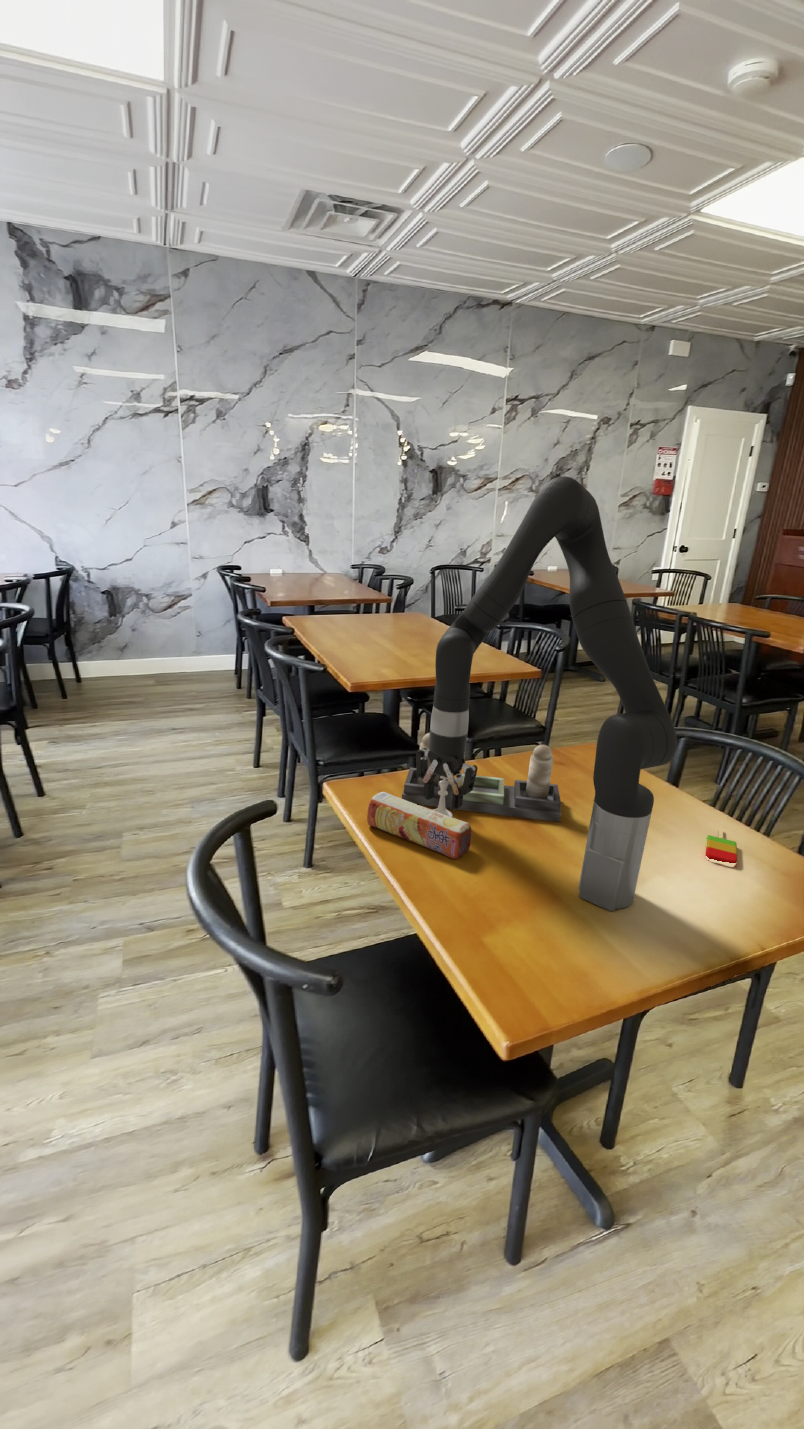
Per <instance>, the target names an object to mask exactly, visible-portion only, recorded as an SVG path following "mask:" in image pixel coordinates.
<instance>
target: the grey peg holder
mask: <svg viewBox="0 0 804 1429" xmlns="http://www.w3.org/2000/svg"><path fill="white" fill-rule="evenodd" d="M429 737H430V732H427V733H425V734H424V736H423V737H422V740H421V742H420V743H419V750H420V749H423V748H426V749H427V750H430V749H429ZM532 752H533V753H532V754H530V757H529V758H530V760H529V766H528V774H527V780H521V779H514V783H513V784H514V785H505V778H504V777H503V778H502V777H495V776H486V775H485V776H484V775H477V774H476V778H475V782H474V787H473V790H472V791H471V792H469V793H467V794H466V795H463V803H462V806H461V807H460V808H459V809H457V810H459V811H465V812H475V813H483V814H493V815H499V816H508V817H516V818H522V819H532V820H533V819H534V820H540V821H548V822H555V823H556V822H557V823H561V817H562V809H561V807H562V802H561V795H560V790H559V786H558V784H556V783H551V777H552V771H553V770H552V769H553V765H554V757H553V751H552V749H551V748H550V746H548V745H547V744H539V745H537V746H536V747H534V749H533V751H532ZM430 766H431V763H430V761H429V758H428V769H429V767H430ZM462 775H463V773H462ZM440 776H443V775H438V774H437V775H436V777H435V778H434V780H433V781H435V785H434V796H433V798H431V799H429V800H427V799H425V796H424V781H423V779H422V778H421V777H420V778H418V777H417V775H416V767H409V770H408V772H407V775H406V779H405V781H404V785H403V791H402V794H401V799H404V800H406V801H409V802H412V803H414V804H421V805H420V806H425V805H426V806H425V807H433V806H434V807H435V808H438V805H439V800H440V795H439V794H438V791H440V790H441V789H440V785H439V781H441V780H443V779H442V778H440ZM464 777H465V775H463V781H464ZM445 781H448V779H445ZM448 782H449V781H448ZM446 791H447V792H448V795H446V796H445V808H446V809H448V810H450V809H451V810H452V798H453V794H454V792H453V788H452V785H451V784H448V786H447V789H446ZM434 807H433V808H434ZM457 810H456V811H457Z"/></svg>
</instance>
